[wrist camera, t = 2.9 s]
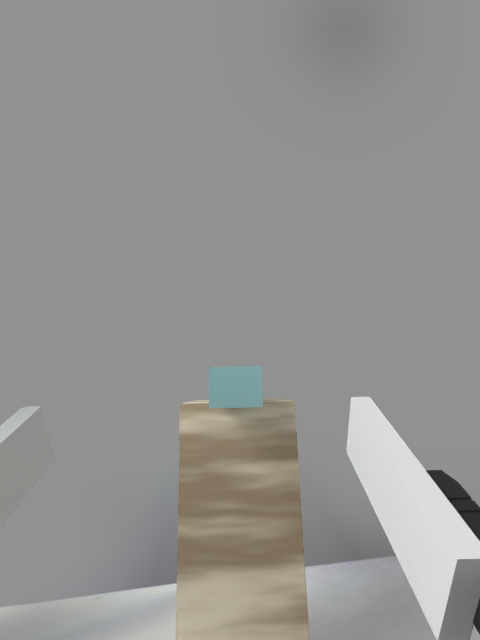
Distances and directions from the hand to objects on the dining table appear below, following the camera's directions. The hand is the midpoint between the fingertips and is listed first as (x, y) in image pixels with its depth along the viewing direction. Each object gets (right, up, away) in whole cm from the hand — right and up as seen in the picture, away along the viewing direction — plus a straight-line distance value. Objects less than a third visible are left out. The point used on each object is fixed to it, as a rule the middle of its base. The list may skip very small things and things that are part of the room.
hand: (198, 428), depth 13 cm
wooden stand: (+2, -35, +18) cm, 39 cm away
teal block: (+2, -5, +22) cm, 23 cm away
